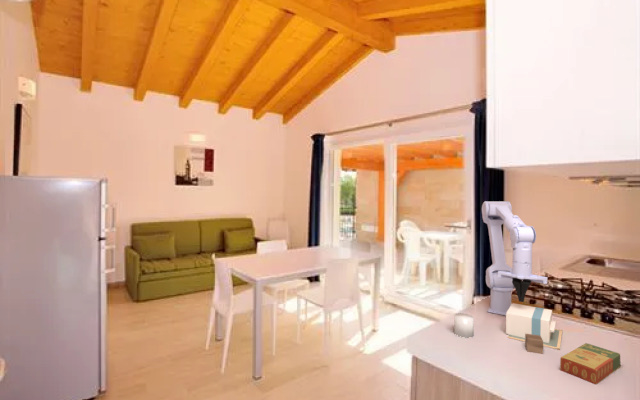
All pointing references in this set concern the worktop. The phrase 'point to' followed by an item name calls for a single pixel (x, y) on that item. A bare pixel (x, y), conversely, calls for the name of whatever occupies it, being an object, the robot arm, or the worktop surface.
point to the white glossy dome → (464, 325)
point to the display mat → (553, 343)
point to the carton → (590, 363)
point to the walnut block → (534, 343)
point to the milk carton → (529, 321)
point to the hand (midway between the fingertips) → (521, 301)
